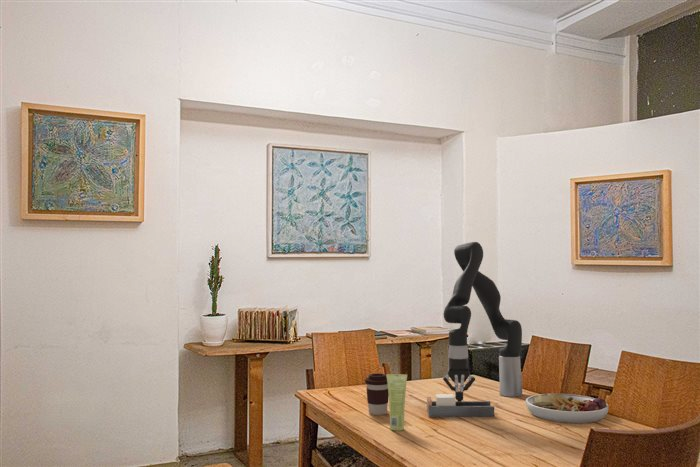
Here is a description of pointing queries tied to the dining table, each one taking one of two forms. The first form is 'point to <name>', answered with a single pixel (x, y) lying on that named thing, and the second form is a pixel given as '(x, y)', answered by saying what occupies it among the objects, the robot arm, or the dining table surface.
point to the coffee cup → (377, 393)
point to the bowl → (567, 408)
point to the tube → (396, 400)
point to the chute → (461, 409)
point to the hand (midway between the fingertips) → (459, 401)
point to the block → (445, 400)
